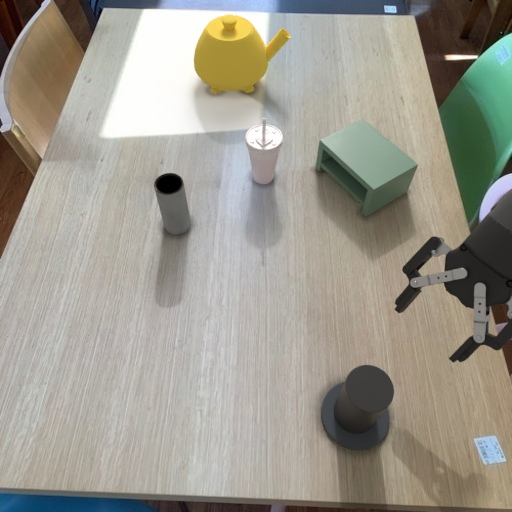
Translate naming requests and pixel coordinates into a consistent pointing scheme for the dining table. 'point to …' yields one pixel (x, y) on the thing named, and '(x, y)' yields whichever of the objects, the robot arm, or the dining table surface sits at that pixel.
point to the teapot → (234, 54)
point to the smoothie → (263, 150)
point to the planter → (172, 203)
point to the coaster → (345, 437)
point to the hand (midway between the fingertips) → (424, 334)
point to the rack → (366, 165)
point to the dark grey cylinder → (363, 398)
